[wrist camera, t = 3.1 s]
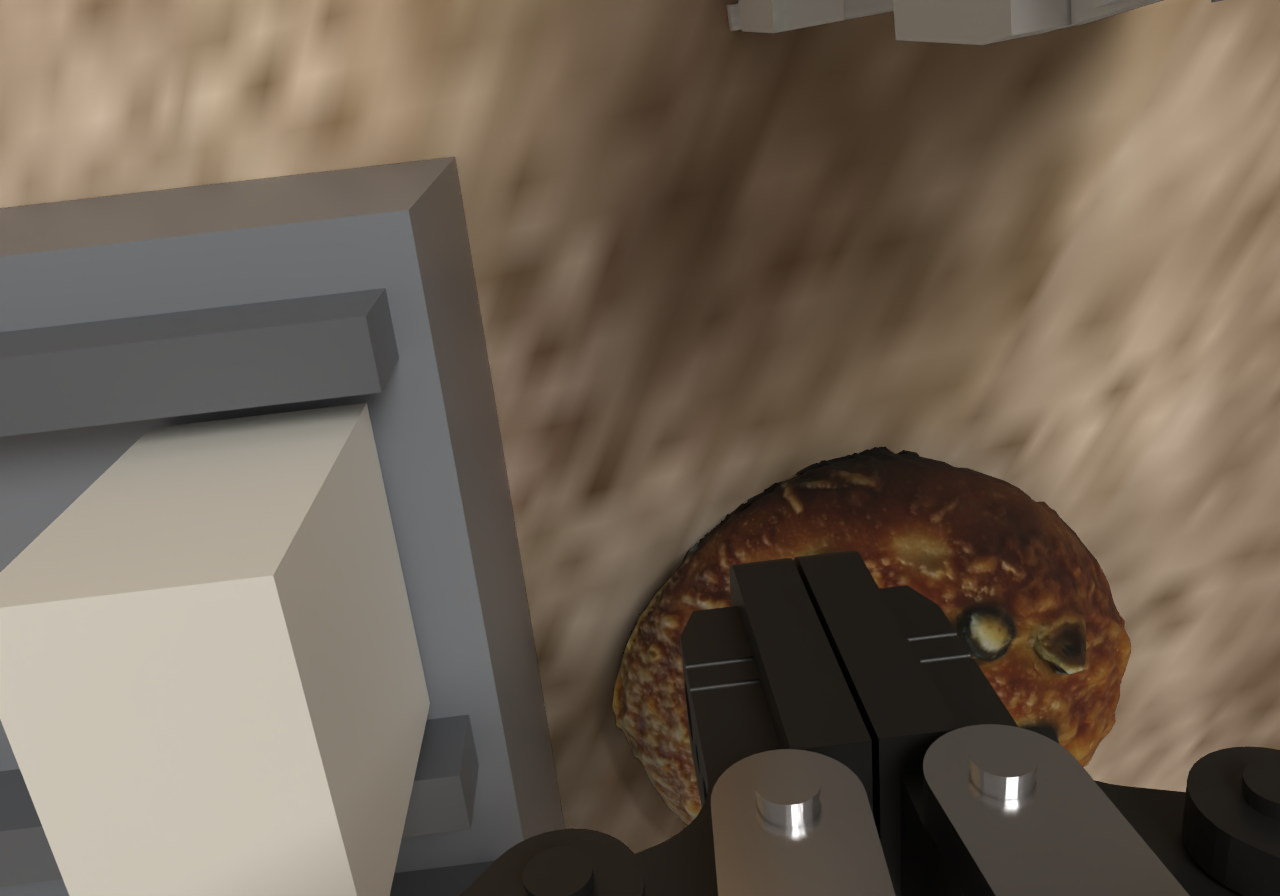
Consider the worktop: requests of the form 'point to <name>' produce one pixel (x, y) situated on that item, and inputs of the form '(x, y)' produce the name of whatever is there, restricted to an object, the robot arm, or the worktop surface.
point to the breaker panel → (284, 382)
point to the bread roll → (897, 556)
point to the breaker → (219, 666)
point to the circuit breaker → (932, 16)
